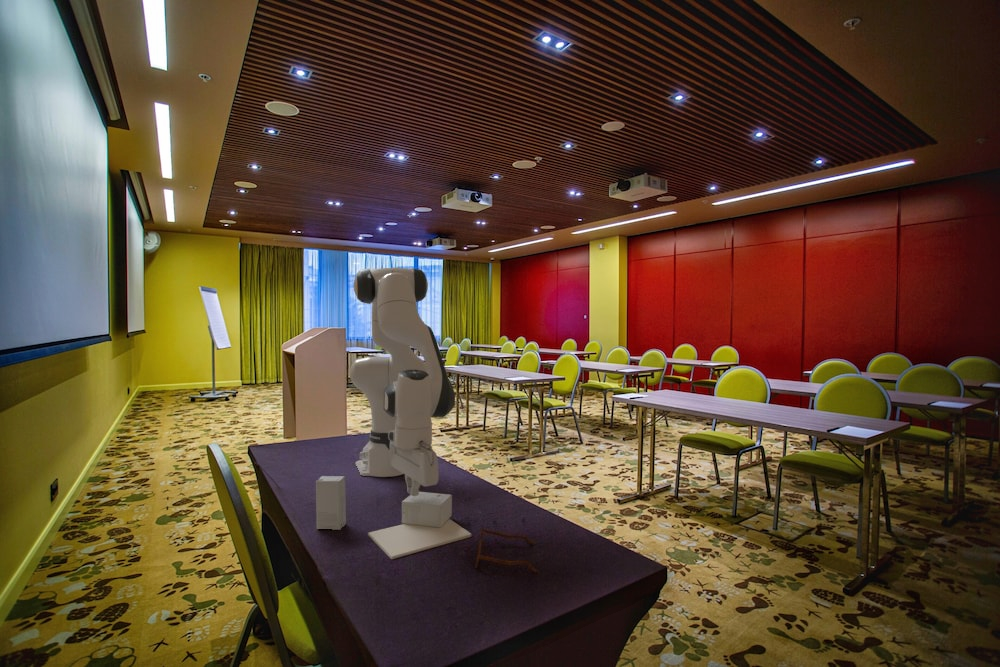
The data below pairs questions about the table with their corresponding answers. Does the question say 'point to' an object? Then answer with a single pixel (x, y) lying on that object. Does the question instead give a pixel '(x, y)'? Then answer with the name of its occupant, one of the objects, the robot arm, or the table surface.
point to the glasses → (500, 559)
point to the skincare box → (330, 502)
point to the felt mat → (416, 537)
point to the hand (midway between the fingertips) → (412, 494)
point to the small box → (427, 509)
